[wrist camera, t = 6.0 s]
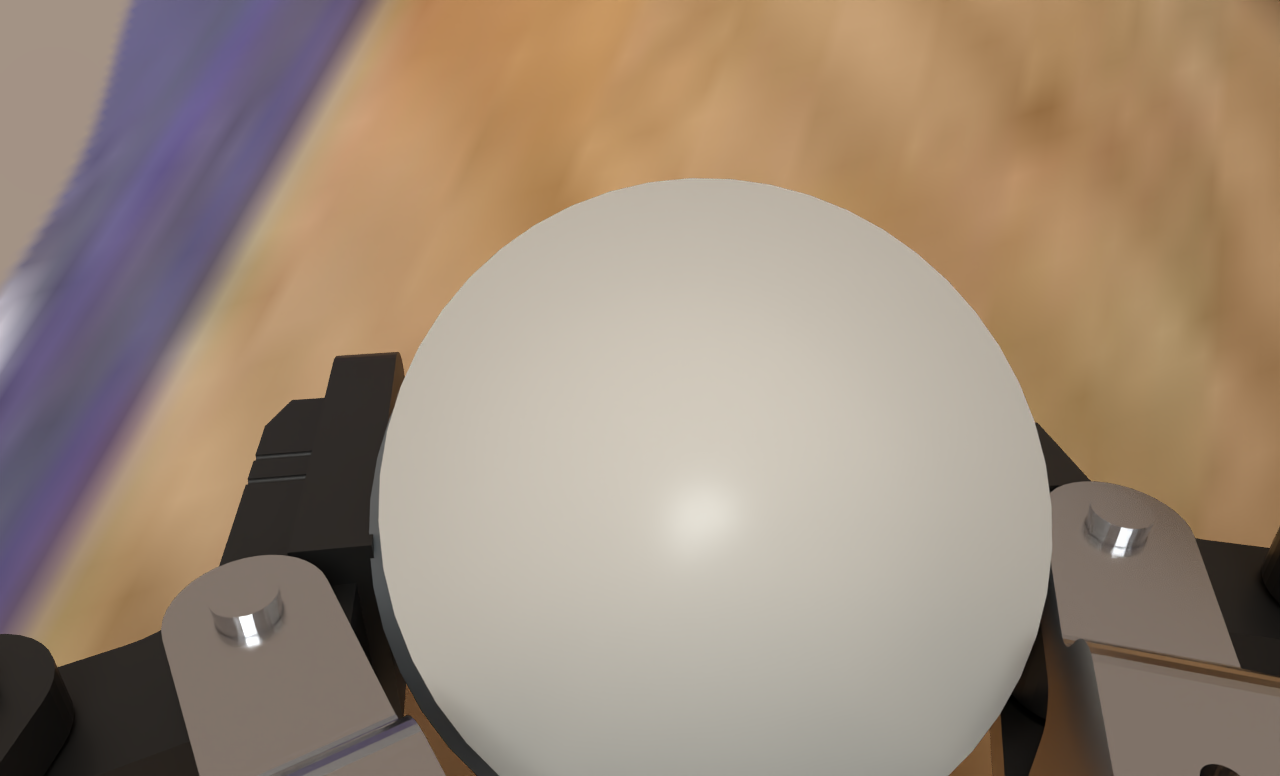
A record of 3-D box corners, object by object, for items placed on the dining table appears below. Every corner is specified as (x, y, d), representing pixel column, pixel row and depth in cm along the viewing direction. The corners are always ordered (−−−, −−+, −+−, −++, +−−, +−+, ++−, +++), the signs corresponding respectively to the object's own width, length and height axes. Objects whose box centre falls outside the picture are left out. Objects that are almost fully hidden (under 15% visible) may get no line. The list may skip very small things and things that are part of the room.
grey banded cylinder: (760, 388, 17) (1013, 132, 8) (805, 723, 15) (1162, 851, 7) (435, 411, 16) (323, 156, 7) (453, 766, 15) (346, 973, 6)
